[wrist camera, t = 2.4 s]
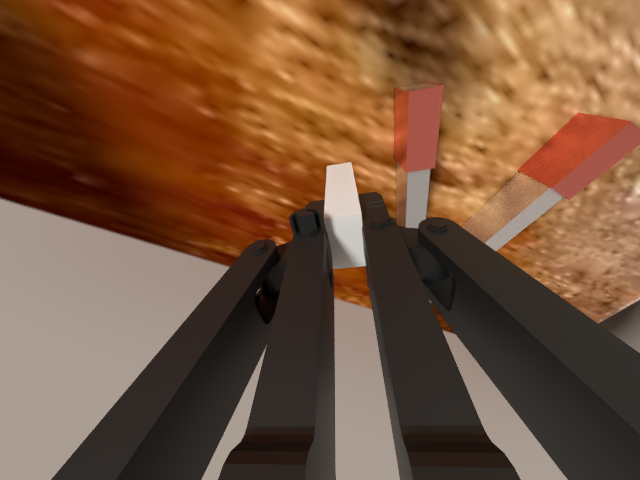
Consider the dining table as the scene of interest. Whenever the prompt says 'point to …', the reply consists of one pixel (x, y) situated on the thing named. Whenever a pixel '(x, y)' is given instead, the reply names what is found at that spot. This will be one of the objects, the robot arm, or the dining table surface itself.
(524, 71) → the dining table surface
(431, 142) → the tongs arm
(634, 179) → the dining table surface
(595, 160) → the tongs fixed
